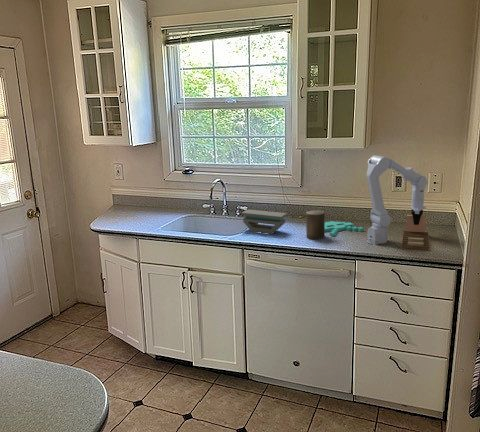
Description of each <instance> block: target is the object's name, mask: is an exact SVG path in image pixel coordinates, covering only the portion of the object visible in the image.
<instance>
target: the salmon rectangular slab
mask: <svg viewBox="0 0 480 432" xmlns="http://www.w3.org/2000/svg"><path fill="white" fill-rule="evenodd" d="M426 219H427V215H423V214H422V215H421V218H420V221H419V225H414V221H413V216H412V214H406V230H405V231H407V232H426V221H427V220H426Z"/></svg>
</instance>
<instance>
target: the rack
mask: <svg viewBox="0 0 480 432" xmlns="http://www.w3.org/2000/svg"><path fill="white" fill-rule="evenodd" d="M408 237H410V238H423V243H424V245H423V246H418V245H408V242H422V241H408ZM430 245H431V242H430V235H429V232H428V231H425V232H407V231H406V230H403V233H402V235H401V244H400V250H407V251H420V252H431V246H430Z"/></svg>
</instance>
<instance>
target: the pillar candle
mask: <svg viewBox="0 0 480 432" xmlns="http://www.w3.org/2000/svg"><path fill="white" fill-rule="evenodd" d="M305 213H306V214H305V215H306V216H305V217H306V220H305V221H306V238H307V239H310V240H321V239H322V240H323V239H324V238H325V236H326V235H325V233H326V232H325V221H326V220H325V217H326V216H325V211H323V210H320V209H317V210H315V209H314V210H308V211H306V212H305Z"/></svg>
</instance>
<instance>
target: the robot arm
mask: <svg viewBox="0 0 480 432" xmlns="http://www.w3.org/2000/svg"><path fill="white" fill-rule="evenodd" d="M388 169H391V170H393V171H395V172H397V173H398V174H400V177H401V178H402V179H404V180H406V181H407V182H409V183H410V185H412V187H411V188H412V189H411V203H410V204H411V206H410V209H411V211H410V214H411V215H412V216H413V221H414V225H419V221H420V218H421V215H423V213H424V210H426V208H427V207H426V206H424V201H425V200H424V199H425V189H426V186H427V185H428V183H429V182H428V181H429V180H428V179H427V177H426V176H425V175H422V174H420V173H421V172H419V171H415V170H414V168H413V167H409V166H408V167H403V166H402V165H401V164H399V163H398V162H397V161H395V160H394V159H391V158H389V157H388V156H381V155H378V154H374V155H372V156H371V157H370V158H369V159H368V160H367V171H366V181H367V186H368V190H369V195H370V196H369V197H370V201H371V205H372V209H370V216H369V219H370V221H371V223H372V224H371V225H372V226H370V227H368V228H367V231H366V232H367V233H366V241H365V242H366V243H368V244H371V245H379V244H385V243H387V242H388V228H389V226H390V224H391V221H392V218H391V216H390V214H389V212H388V210H387V209H386V208H385V203H384V199H383V194H382V188H381V184H380V176H381V175H383V174H384V173H385V172H386V171H387V170H388Z"/></svg>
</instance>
